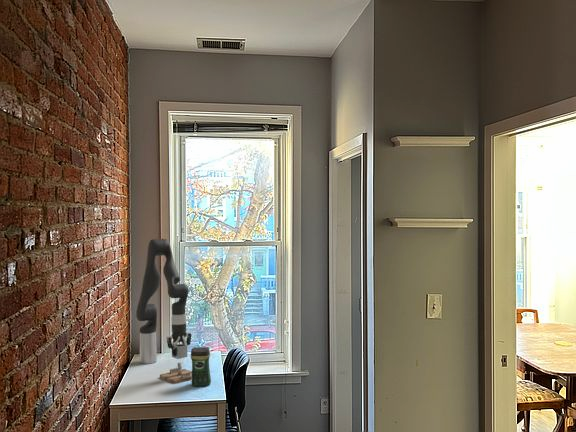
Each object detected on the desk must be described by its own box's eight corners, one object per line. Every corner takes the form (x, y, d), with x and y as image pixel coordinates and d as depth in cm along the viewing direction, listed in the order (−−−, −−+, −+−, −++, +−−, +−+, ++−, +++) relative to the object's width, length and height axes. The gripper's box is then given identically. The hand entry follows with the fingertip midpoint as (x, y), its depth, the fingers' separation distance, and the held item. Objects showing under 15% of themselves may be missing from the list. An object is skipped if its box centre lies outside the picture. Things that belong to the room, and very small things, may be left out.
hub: (171, 357, 295) (171, 345, 295) (181, 355, 299) (181, 343, 299) (177, 359, 291) (177, 347, 291) (187, 356, 295) (187, 345, 295)
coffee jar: (211, 382, 286) (211, 345, 286) (209, 386, 278) (208, 349, 278) (192, 382, 286) (192, 345, 286) (189, 387, 279) (189, 349, 278)
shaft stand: (159, 377, 295) (159, 363, 295) (184, 371, 306) (184, 357, 305) (175, 383, 284) (174, 368, 284) (200, 377, 295) (199, 363, 294)
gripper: (186, 319, 302) (187, 351, 302) (162, 323, 293) (163, 356, 293) (194, 321, 297) (195, 353, 297) (170, 325, 287) (171, 358, 287)
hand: (179, 354), depth 295 cm, fingers closed on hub, 5 cm apart
